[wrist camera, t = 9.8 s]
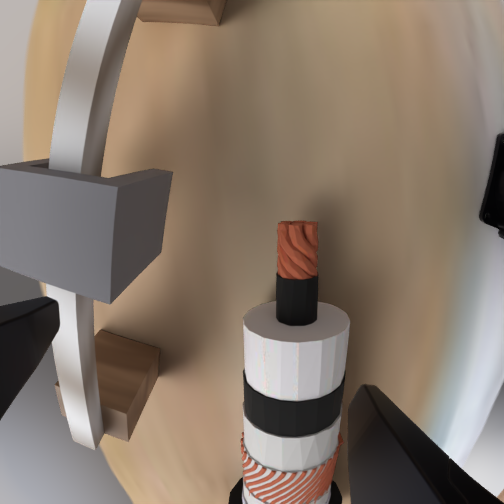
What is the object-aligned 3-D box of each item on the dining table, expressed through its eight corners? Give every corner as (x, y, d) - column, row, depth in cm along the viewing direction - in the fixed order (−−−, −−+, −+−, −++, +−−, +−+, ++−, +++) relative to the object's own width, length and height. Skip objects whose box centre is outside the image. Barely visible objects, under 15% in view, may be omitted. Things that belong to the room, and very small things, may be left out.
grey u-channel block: (69, 156, 14) (-8, 167, 9) (173, 171, 14) (117, 187, 9) (63, 228, 16) (-6, 263, 10) (161, 252, 16) (110, 304, 10)
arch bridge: (155, -16, 14) (98, -82, 6) (230, -13, 14) (204, -95, 6) (101, 358, 23) (51, 430, 15) (157, 377, 23) (120, 459, 15)
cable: (320, 211, 23) (433, 229, 14) (299, 499, 30) (344, 552, 21) (181, 220, 19) (244, 249, 10) (221, 526, 26) (258, 589, 17)
